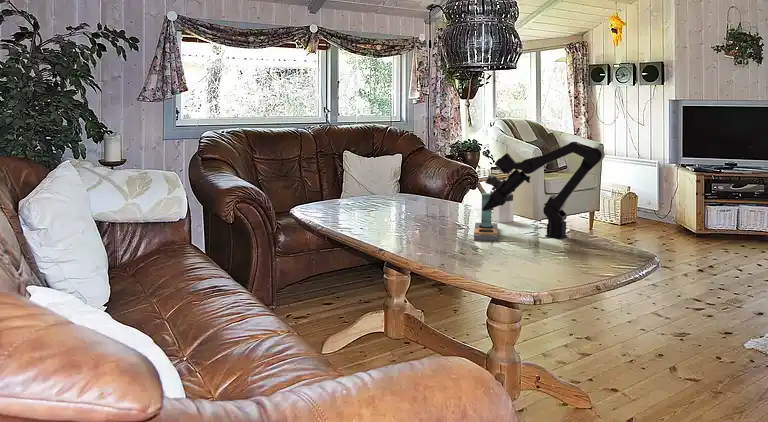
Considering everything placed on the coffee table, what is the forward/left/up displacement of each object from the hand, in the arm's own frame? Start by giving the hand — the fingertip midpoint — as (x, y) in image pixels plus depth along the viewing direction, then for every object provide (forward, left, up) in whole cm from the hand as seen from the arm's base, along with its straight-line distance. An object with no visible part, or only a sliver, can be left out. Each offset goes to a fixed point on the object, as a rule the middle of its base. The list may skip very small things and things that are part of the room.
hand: (483, 209), depth 259 cm
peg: (-1, -1, -7) cm, 7 cm away
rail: (-4, +3, -9) cm, 11 cm away
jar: (+8, -25, -9) cm, 28 cm away
